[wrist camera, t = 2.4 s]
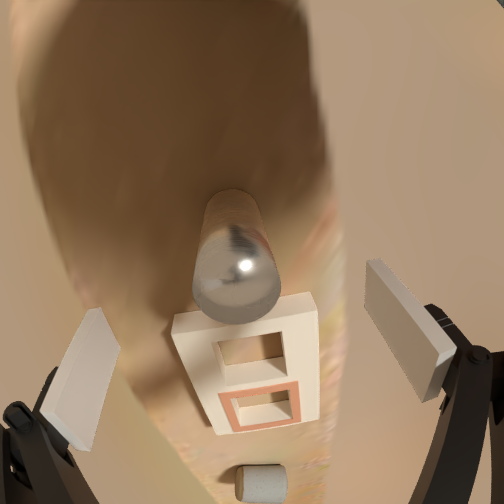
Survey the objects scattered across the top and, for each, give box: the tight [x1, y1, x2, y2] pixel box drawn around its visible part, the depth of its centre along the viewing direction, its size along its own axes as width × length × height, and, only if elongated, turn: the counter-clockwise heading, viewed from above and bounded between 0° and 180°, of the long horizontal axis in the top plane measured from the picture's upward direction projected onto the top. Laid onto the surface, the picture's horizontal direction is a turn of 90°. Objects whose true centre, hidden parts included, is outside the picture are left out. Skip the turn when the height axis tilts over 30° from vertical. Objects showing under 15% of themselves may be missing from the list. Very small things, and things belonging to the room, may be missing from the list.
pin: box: [192, 189, 281, 325], centre depth 20 cm, size 4×4×11 cm
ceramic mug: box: [235, 465, 288, 503], centre depth 43 cm, size 11×8×8 cm
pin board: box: [171, 291, 319, 435], centre depth 32 cm, size 18×13×3 cm
